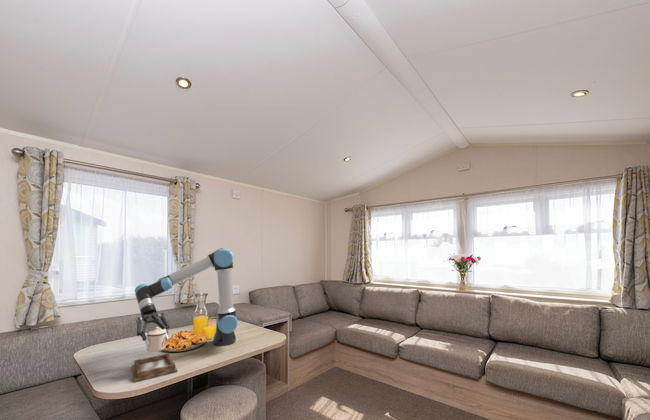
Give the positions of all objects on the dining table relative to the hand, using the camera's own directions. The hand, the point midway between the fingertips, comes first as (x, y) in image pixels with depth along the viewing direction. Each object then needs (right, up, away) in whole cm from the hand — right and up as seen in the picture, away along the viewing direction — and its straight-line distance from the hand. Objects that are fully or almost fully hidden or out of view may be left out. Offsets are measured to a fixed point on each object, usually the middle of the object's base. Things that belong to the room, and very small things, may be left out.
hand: (157, 342), depth 158 cm
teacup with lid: (-2, -4, +2) cm, 5 cm away
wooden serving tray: (-2, -15, 0) cm, 15 cm away
